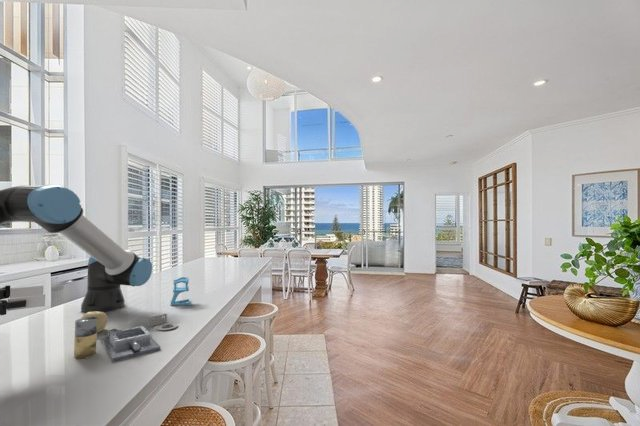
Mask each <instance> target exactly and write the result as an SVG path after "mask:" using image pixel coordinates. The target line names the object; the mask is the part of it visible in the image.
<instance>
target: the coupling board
mask: <svg viewBox="0 0 640 426" xmlns="http://www.w3.org/2000/svg"><path fill="white" fill-rule="evenodd" d="M100 340H101V342H102V345H103V346H104V348H105V351H106V352H107V355H108V356H109V358H110V360H111V362H112V363H115V362H119V361H123V360H126V359H131V358H134V357H137V356H141V355H145V354H149V353H154V352H157V351H161V345H159V343H158V342H157V341H156V340H155V339H154V338H153V337H152V336H151V333H150V332H149V331H148V330H147V329H146V328H145V326H143V325H140V326H136V327H129V328H125V329H117V328H112V329H109V330H108V334H106V335H101V336H100Z"/></svg>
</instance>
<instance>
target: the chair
mask: <svg viewBox="0 0 640 426" xmlns="http://www.w3.org/2000/svg"><path fill="white" fill-rule="evenodd" d="M189 281H190V279H189V277H185V276H184V277H182V276H181V277H178V278H177V279H174V280H173V285H174V287H173V289H172V293H173V296H172V298H171V300H170V304H169V305H174V306H191V299H190V298H188V299H187V298H185V299H180V300H176V299H177V298H178V297H179V295H180V294H182V293H184V292H185V293H186V292H189V291H190V288H189V286H188V285H189ZM180 283H182V284H185V286H177V285H178V284H180Z"/></svg>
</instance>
